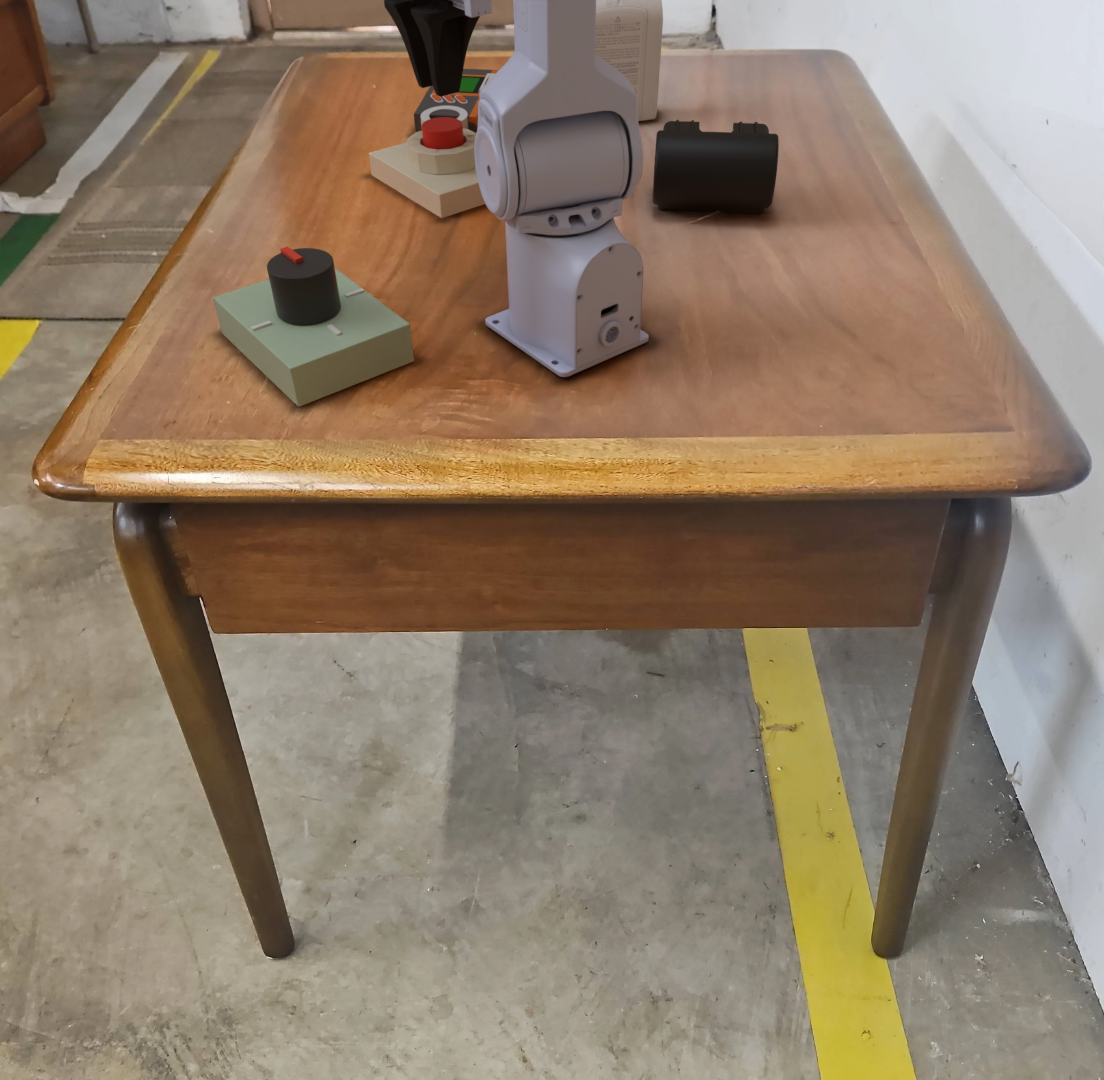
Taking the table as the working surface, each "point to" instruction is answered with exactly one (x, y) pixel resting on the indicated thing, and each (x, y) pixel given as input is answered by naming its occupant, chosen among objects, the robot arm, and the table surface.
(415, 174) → the button box
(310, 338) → the dial panel
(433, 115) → the electronic device
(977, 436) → the table surface
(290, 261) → the dial
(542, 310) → the robot arm
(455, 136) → the power button
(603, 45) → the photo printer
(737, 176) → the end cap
